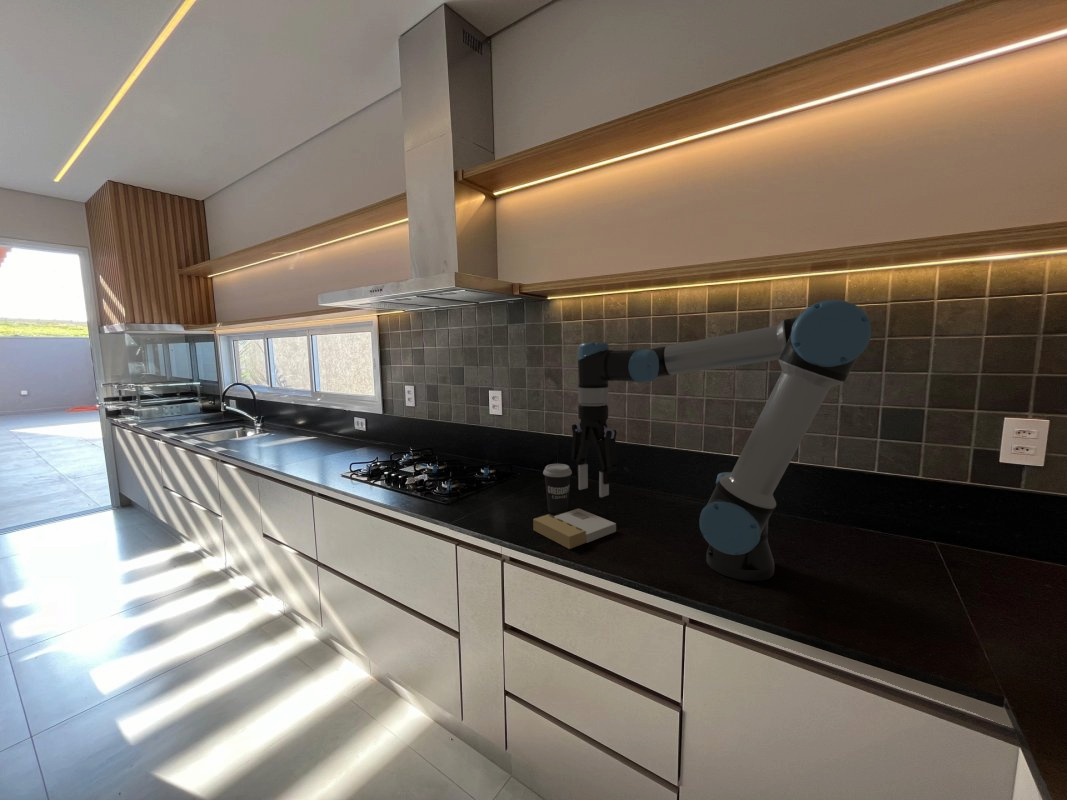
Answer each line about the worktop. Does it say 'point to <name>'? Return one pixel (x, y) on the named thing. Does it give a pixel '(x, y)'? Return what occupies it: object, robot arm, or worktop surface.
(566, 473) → the coffee cup
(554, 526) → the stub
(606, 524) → the flat white box
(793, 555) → the worktop surface
